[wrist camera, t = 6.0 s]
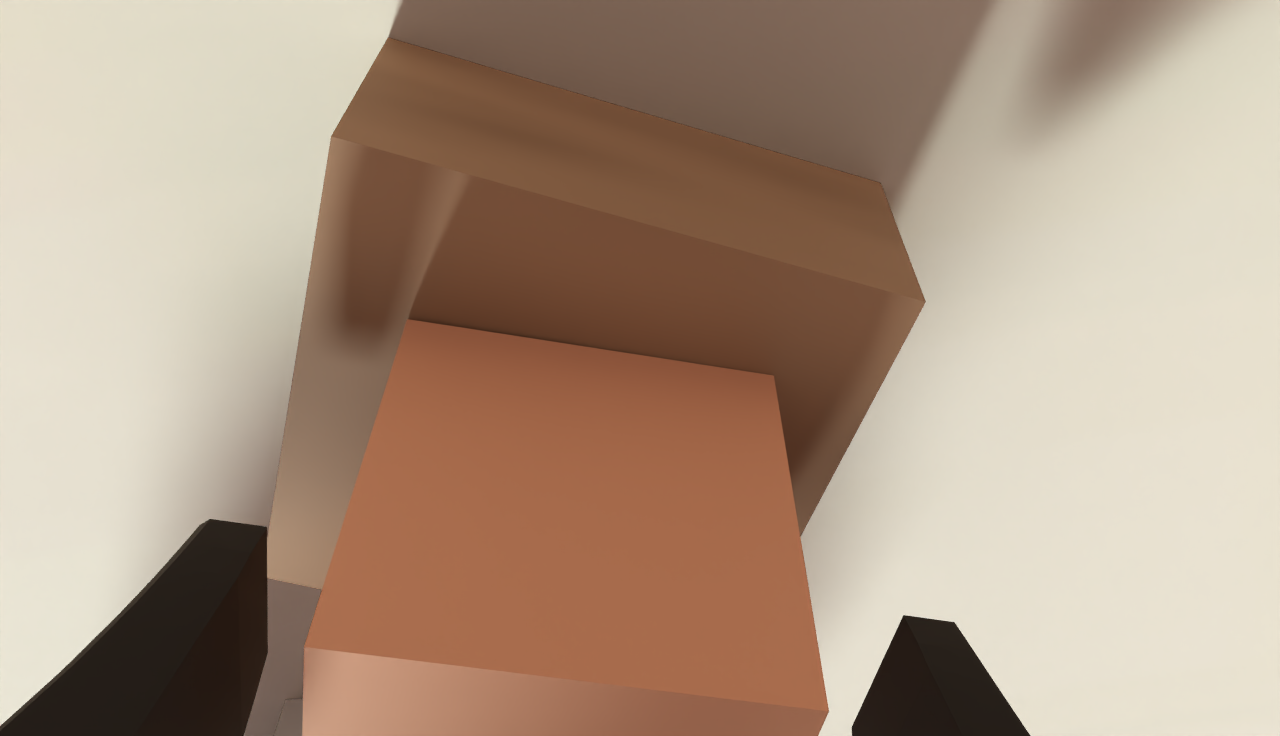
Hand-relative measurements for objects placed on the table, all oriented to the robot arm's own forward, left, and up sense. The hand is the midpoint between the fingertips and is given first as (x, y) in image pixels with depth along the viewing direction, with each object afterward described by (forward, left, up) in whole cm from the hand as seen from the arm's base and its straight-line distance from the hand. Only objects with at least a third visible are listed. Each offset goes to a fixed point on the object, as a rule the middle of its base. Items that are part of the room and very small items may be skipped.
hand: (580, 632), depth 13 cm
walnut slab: (0, 0, -6) cm, 6 cm away
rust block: (0, 0, -3) cm, 3 cm away
